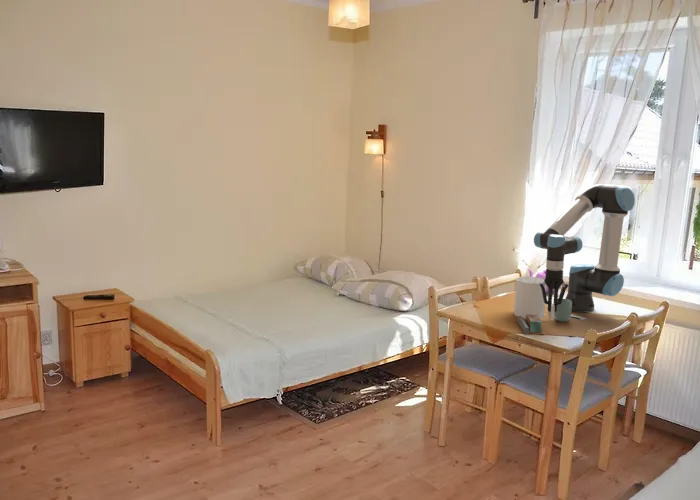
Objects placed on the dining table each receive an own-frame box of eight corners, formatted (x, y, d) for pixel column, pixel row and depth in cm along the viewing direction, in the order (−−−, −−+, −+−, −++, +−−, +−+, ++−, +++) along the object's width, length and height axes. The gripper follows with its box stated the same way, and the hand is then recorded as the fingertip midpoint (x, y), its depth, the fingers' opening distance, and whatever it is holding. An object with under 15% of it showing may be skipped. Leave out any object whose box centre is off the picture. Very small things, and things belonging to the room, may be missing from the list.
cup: (550, 318, 300) (552, 298, 298) (566, 318, 301) (567, 298, 299) (557, 323, 292) (559, 303, 290) (573, 323, 293) (574, 302, 291)
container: (517, 309, 315) (519, 275, 312) (546, 313, 309) (548, 278, 305) (511, 316, 302) (513, 281, 299) (541, 321, 296) (544, 284, 293)
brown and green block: (541, 332, 279) (536, 324, 289) (542, 321, 278) (536, 314, 288) (530, 331, 279) (525, 324, 290) (530, 321, 278) (526, 314, 289)
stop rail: (521, 322, 293) (521, 316, 293) (528, 334, 276) (528, 327, 275) (517, 321, 293) (518, 315, 293) (525, 334, 276) (525, 327, 275)
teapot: (521, 291, 351) (522, 269, 349) (530, 286, 362) (531, 265, 360) (556, 296, 340) (558, 274, 337) (564, 291, 351) (566, 270, 349)
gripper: (541, 270, 276) (538, 320, 281) (571, 271, 275) (568, 321, 280) (538, 266, 283) (535, 315, 288) (567, 267, 282) (563, 316, 287)
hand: (551, 318), depth 284 cm, fingers closed
